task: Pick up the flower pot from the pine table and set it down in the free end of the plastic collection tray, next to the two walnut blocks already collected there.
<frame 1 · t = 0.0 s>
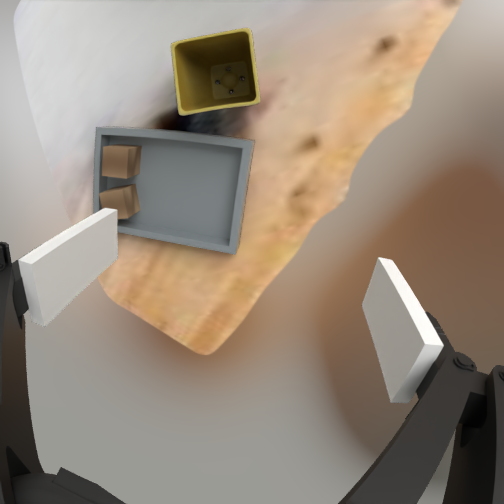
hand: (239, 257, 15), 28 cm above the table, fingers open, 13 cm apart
flower pot: (229, 81, 37), on the table
walnut block B: (126, 198, 44), point 1 cm above the table, touching tray
tray: (169, 183, 43), on the table
walnut block A: (128, 158, 41), point 1 cm above the table, touching tray
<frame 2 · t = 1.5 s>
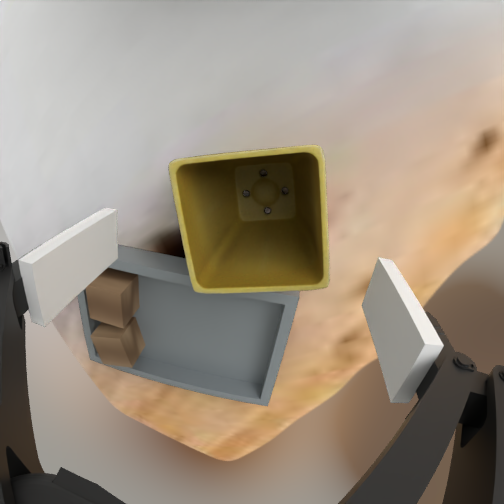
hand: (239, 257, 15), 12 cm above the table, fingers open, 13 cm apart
flower pot: (264, 191, 26), on the table
walnut block B: (125, 330, 34), point 1 cm above the table, touching tray
tray: (180, 320, 33), on the table
walnut block A: (122, 286, 31), point 1 cm above the table, touching tray
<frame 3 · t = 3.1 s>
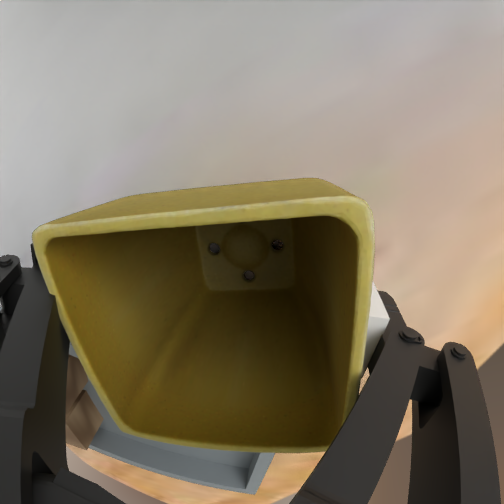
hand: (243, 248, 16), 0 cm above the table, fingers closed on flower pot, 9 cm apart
flower pot: (244, 244, 16), on the table, touching gripper
walnut block B: (78, 401, 23), point 1 cm above the table, touching tray
tray: (140, 400, 23), on the table
walnut block A: (64, 356, 21), point 1 cm above the table, touching tray
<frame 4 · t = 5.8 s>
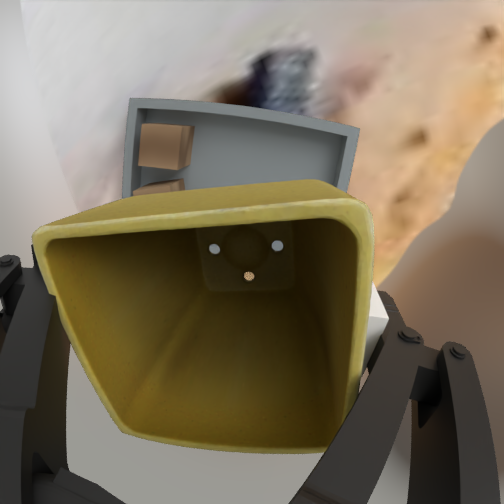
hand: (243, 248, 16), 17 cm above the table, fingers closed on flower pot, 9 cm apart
flower pot: (244, 245, 16), point 17 cm above the table, touching gripper
walnut block B: (169, 198, 33), point 1 cm above the table, touching tray
tray: (232, 179, 32), on the table
walnut block A: (174, 143, 30), point 1 cm above the table, touching tray
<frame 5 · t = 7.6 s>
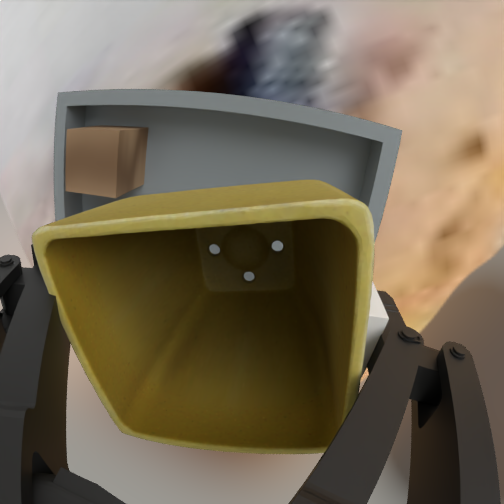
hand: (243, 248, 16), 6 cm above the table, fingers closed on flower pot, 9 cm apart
flower pot: (244, 245, 16), point 6 cm above the table, touching gripper
tray: (205, 205, 22), on the table
walnut block A: (121, 153, 20), point 1 cm above the table, touching tray
when the fingers open (3 cm above the table, at t = 8.9 s): flower pot drops 2 cm, resting on tray.
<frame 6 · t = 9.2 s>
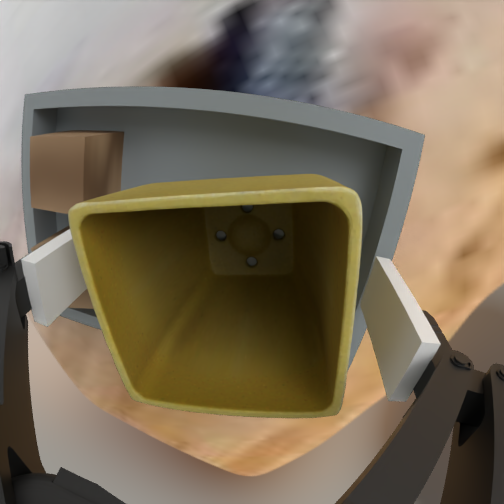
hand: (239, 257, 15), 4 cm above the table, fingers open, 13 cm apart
flower pot: (248, 232, 18), resting on tray
walnut block B: (95, 251, 19), point 1 cm above the table, touching tray
tray: (191, 221, 19), on the table
walnut block A: (94, 162, 17), point 1 cm above the table, touching tray
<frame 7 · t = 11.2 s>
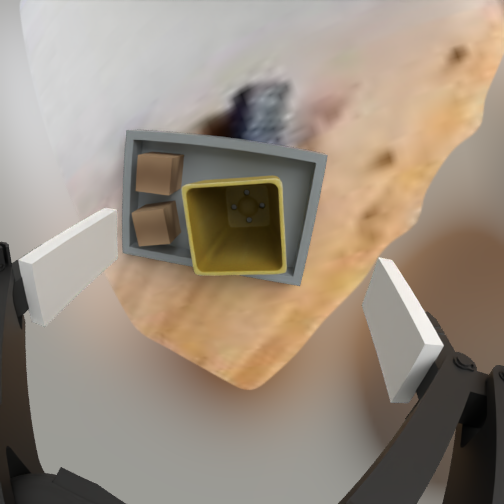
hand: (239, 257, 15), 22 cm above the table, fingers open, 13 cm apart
flower pot: (247, 205, 36), resting on tray
walnut block B: (163, 218, 38), point 1 cm above the table, touching tray
tray: (218, 200, 37), on the table
walnut block A: (166, 169, 35), point 1 cm above the table, touching tray
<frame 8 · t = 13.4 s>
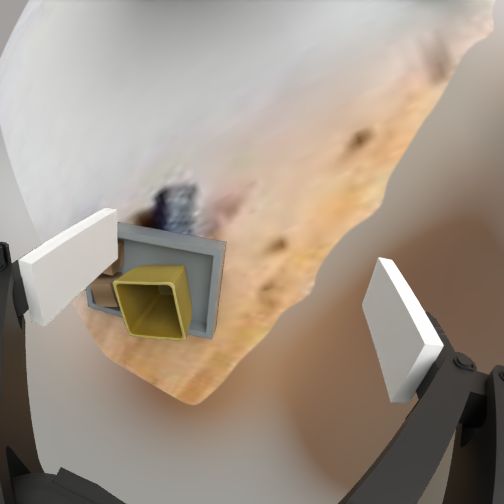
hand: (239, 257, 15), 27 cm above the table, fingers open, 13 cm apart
flower pot: (171, 279, 47), resting on tray
walnut block B: (114, 283, 48), point 1 cm above the table, touching tray
tray: (151, 273, 47), on the table
walnut block A: (113, 250, 46), point 1 cm above the table, touching tray
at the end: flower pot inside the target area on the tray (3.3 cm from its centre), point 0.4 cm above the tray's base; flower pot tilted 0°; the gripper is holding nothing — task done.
